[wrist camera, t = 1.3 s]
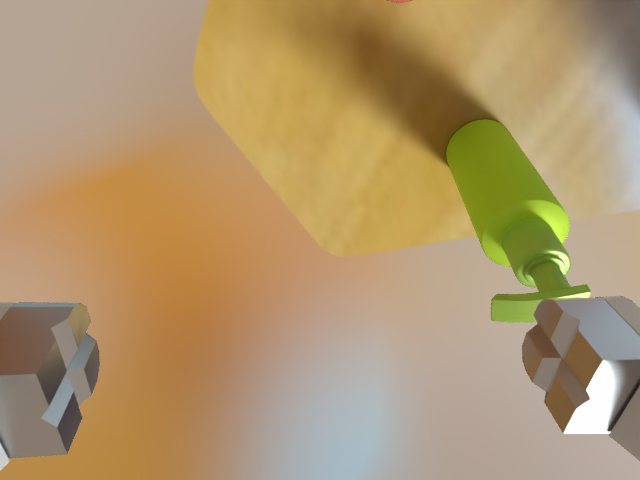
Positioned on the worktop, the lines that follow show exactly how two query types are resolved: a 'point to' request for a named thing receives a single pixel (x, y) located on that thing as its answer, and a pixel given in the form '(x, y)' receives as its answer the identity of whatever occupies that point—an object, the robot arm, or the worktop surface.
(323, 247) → the worktop surface
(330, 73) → the worktop surface
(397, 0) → the ball
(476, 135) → the soap dispenser
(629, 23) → the worktop surface
